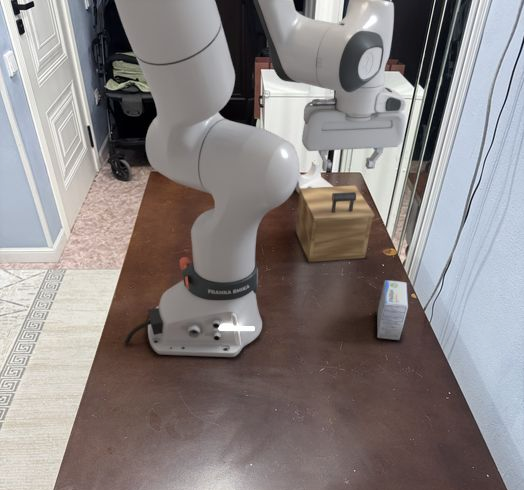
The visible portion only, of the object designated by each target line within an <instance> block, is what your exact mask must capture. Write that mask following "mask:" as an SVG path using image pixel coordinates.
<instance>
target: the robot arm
mask: <svg viewBox="0 0 524 490" xmlns="http://www.w3.org/2000/svg"><path fill="white" fill-rule="evenodd" d="M252 1H253V4H254V7H255V9H256V13H257V15H258V17H259V21H260V24H261V26H262V29H263V31H264V35H265V37H266V40H267V44H268V51H269V58H270V63H271V66H272V68H273V70H274V72H275V74H276V76H277V77H278V79H280V80H281V81H283V82H289V83H297V84H304V85H305V84H306V85H309V86H312V87H318V88H321V89H325V90H331V91H334V92H335V94H334V97H332V98H322V99H320V98H314V99H312V100H311V101H309V102H308V103H307V104H306V105H305V106H304V108H303V121H304V125H303V130H302V135H301V142H302V145H303V147H304V148H305V149H306V150H307V151H308V152H318V154H319V156H320V158H321V160H322V163H321V165H322V166H321V169H322V171H323V172H329V171H330V172H331V171H332V165H333V163H332V161H331V160H330V159H327V158H326V156H328V153H329V151H339V150H340V151H342V150H343V151H345V150H364V149H372V150H373V152H372V154H371V155H370V157H366V159H365V165H364V166H365V168H366V169H367V170H371V169H375V168H376V161H378V160H379V158H380V157H381V156H382V155H383V153H384V149H385V148H398V147H400V145H401V144H402V142H403V141H404V135H405V130H406V114H405V113H404V112H403V111H404V110H405V109H406V106H407V100H406V98H404V97H403V95H401V94H400V93H399V92H397V90H395V89H392V88H390V87H387V86H385V82H386V74H385V70H386V66H387V62H388V60H389V58H390V54H391V50H392V49H391V48H392V41H393V32H394V23H395V4H394V2H393V1H391V0H349V1H348V5H347V8H346V13H345V16H344V18H342V19H341V20H340V21H338V23H336V22H332V21H331V22H330V21H324V20H319V19H313V18H311V17H307V16H306V15H303V14H301V13H300V12H298V11H297V10H296V7H295V3H294V0H252ZM114 3H115V5H116V9H117V12H118V16H119V19H120V21H121V24H122V28H123V29H124V32H125V35H126V37H127V39H128V42H129V44H130V47H131V50H132V52H133V53H134V56H135V58H136V60H137V63H138V65H139V68H140V69H141V73H142V74H143V77H144V78H145V81H146V84H147V86H148V88H149V89H148V90H149V91H150V94H151V96H152V99H153V101H154V104H155V108H156V117H154V119H152V122H151V123H150V124H149V126H148V129H147V133H146V136H145V152H146V157H147V160H148V162H149V165H150V166H151V167H152V169H154V170H155V171H156V172H158V173H159V174H160V175H162V176H164V177H166V178H167V179H169V180H170V181H172V182H174V183H175V184H178V185H180V186H183V187H187V188H190V189H193V190H196V191H199V192H203V193H205V194H209V195H211V196H212V198H213V202H214V208H213V207H212V208H210V209H208V210H206V211H203V212H202V213H201V214H199V215H198V216H197V218H196V219H195V220H194V222H193V224H192V226H191V229H190V240H191V252H192V261H191V259H190V258H189V257H187V256H182V257H181V258H180V259H179V269H180V270H181V271H182V280H180V281H178V282H177V283H175V284H174V285H173V286H171V287H170V288H168V289H166V290H165V291H164V292H163V293H162V295H161V297H160V300H159V304H158V305H157V306H156V307H155V308H150V309H147V314H148V320H146V321H144V322H142V323H141V324H139V325H137V326H135V327H134V328H133V329H131V331H130V332H129V333H128V335H127V337H126V339H125V340H124V343H125V344H126V345H127V344H129V343H130V341H131V340H132V338H133V336H134V335H135V334H136V333H137V332H138V331H140V330H142V329H143V328H146V327H147V337H148V338H147V339H148V342H149V345H150V347H151V348H152V350H153V351H154V352H156V354H158V355H162V356H163V355H165V356H166V355H167V356H187V357H188V356H190V357H191V356H192V357H216V358H219V357H220V358H234V357H236V356H238V355H239V354H240V352H241V351H242V349H243V348H244V347H245V346H247V345H248V344H250V343H252V342H253V341H254V340H256V339H257V338H258V336H259V335H260V334H261V332H262V329H263V320H262V317H261V314H260V311H259V307H258V306H259V305H258V302H257V292H258V285H259V277H258V276H259V269H258V265H257V261H256V245H257V235H258V229H259V226H260V224H261V222H262V220H263V218H264V217H265V216H266V215H267V214H268V213H269V212H271V211H272V210H274V209H276V208H278V207H280V206H281V205H282V204H284V203H285V202H286V201H287V200H288V199H289V198H290V197H291V196H292V195H293V193H294V191H295V190H296V185H297V182H298V178H299V173H300V160H299V155H298V152H297V150H296V148H295V146H294V145H293V143H292V142H290V141H289V140H287V139H285V138H283V137H281V136H280V135H278V134H275V133H273V132H272V131H269V130H267V129H266V128H261V127H257V126H253V125H249V124H245V123H241V122H238V121H237V122H236V121H232V120H229V119H227V118H225V117H224V116H222V115H221V113H220V111H221V110H222V109H224V107H225V106H226V105H227V103H228V102H229V101H230V100H231V98H232V97H231V96H232V94H233V92H234V87H235V81H236V73H235V72H236V71H235V68H234V65H233V61H232V58H231V53H230V49H229V45H228V42H227V38H226V35H225V31H224V28H223V23H222V20H221V15H220V12H219V10H218V6H217V3H216V0H114Z"/></svg>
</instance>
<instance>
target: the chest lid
mask: <svg viewBox="0 0 524 490" xmlns="http://www.w3.org/2000/svg"><path fill="white" fill-rule="evenodd" d="M300 193H301V196H302V198H303V200H304V202H305V204H306V206H307V208H308V210H309V212H310V214H311V216H312V218H313V220H314V221H327V220H344V219H360V218H372V219H374V218H375V216H376V215H375V213H374V211H373V210H372V208H371V207H370V205H369V204H368V202H367V201H366V199H365V198H364V196H363V194H362V193H361V192H360V190H359V189H358V188H357V186H356V185H342V186H341V185H338V186H333V187H319V188H300Z"/></svg>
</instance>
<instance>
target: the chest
mask: <svg viewBox="0 0 524 490" xmlns="http://www.w3.org/2000/svg"><path fill="white" fill-rule="evenodd" d="M372 222H373V218H360V219H344V220H327V221H314V220H313V218H312V216H311V214H310V212H309V210H308V208H307V206H306V204H305V202H304V200H303V198H302V196H301V193H300V192H299V193H298V205H297V219H296V235H297V237H298V240H299V242H300V245H301V247H302V250H303V252H304V254H305V256H306V259H307V262H308V263H312V262H314V263H315V262H325V261H326V262H327V261H339V260H355V259H365V258H366V253H367V249H368V243H369V237H370V234H371V228H372Z"/></svg>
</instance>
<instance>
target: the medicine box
mask: <svg viewBox="0 0 524 490" xmlns="http://www.w3.org/2000/svg"><path fill="white" fill-rule="evenodd" d="M408 308H409V299H408V283H407V282H405V281H398V280H384V282H383V285H382V289H381V295H380V299H379V303H378V307H377V313H376V315H377V316H376V317H377V318H376V319H377V323H376V325H377V327H376V328H377V336H376V338H378V339H385V340H393V341H394V340H395V341H400V339H401V335H402V332H403V328H404V324H405V320H406V316H407V314H408V313H407V312H408Z"/></svg>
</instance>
